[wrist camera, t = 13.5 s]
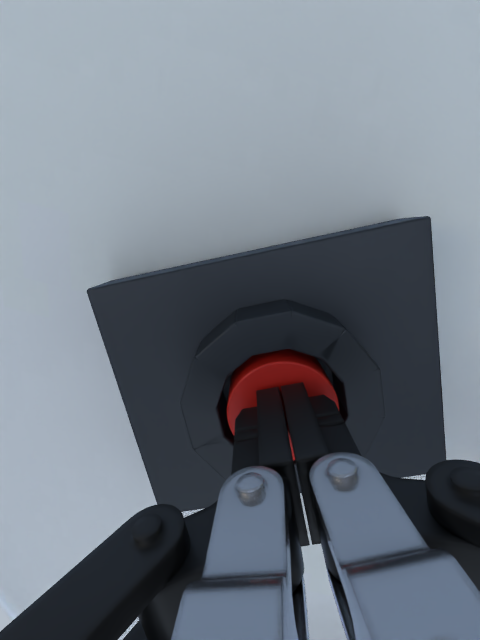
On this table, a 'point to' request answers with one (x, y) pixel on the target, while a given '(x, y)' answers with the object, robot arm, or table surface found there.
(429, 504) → the robot arm
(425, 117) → the table surface
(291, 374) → the button
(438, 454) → the control block
